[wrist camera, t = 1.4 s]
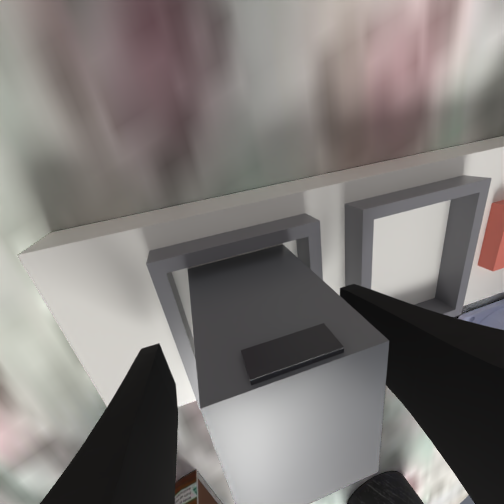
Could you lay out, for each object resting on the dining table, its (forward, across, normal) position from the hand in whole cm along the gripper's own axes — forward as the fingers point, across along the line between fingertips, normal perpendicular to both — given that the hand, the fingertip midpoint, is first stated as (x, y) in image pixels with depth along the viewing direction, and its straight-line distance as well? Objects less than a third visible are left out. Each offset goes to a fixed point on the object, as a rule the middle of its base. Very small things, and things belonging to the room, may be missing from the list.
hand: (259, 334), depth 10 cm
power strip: (+4, -5, 0) cm, 7 cm away
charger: (+2, 0, 0) cm, 2 cm away
